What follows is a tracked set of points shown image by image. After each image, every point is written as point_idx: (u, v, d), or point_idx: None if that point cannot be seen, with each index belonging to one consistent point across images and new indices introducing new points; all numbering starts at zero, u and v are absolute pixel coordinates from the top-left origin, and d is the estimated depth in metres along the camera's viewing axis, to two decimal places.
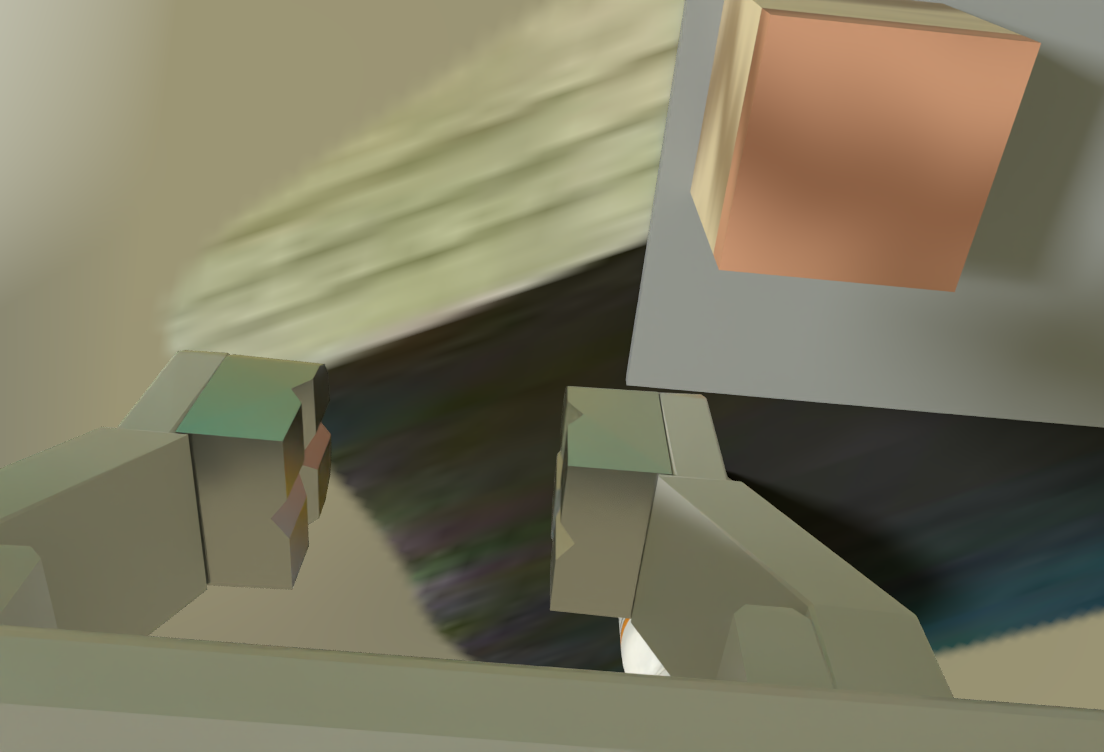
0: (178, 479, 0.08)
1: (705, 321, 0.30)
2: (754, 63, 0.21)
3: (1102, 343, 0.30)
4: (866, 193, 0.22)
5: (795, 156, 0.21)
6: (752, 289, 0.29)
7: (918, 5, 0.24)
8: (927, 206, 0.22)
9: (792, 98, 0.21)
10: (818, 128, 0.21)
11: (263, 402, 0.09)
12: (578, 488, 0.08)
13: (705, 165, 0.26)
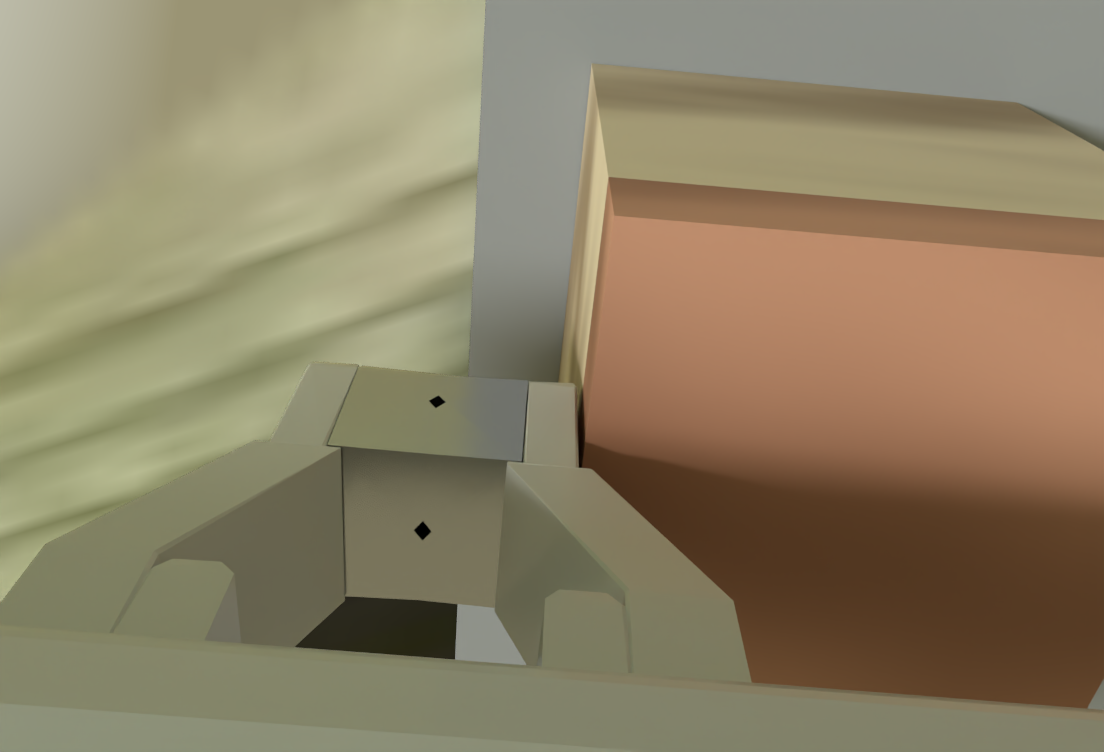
0: (329, 492, 0.08)
1: None
2: (596, 307, 0.08)
3: None
4: (874, 583, 0.09)
5: (705, 517, 0.09)
6: None
7: (974, 115, 0.12)
8: (1013, 606, 0.09)
9: (686, 402, 0.08)
10: (753, 460, 0.09)
11: (405, 414, 0.09)
12: (429, 476, 0.08)
13: None
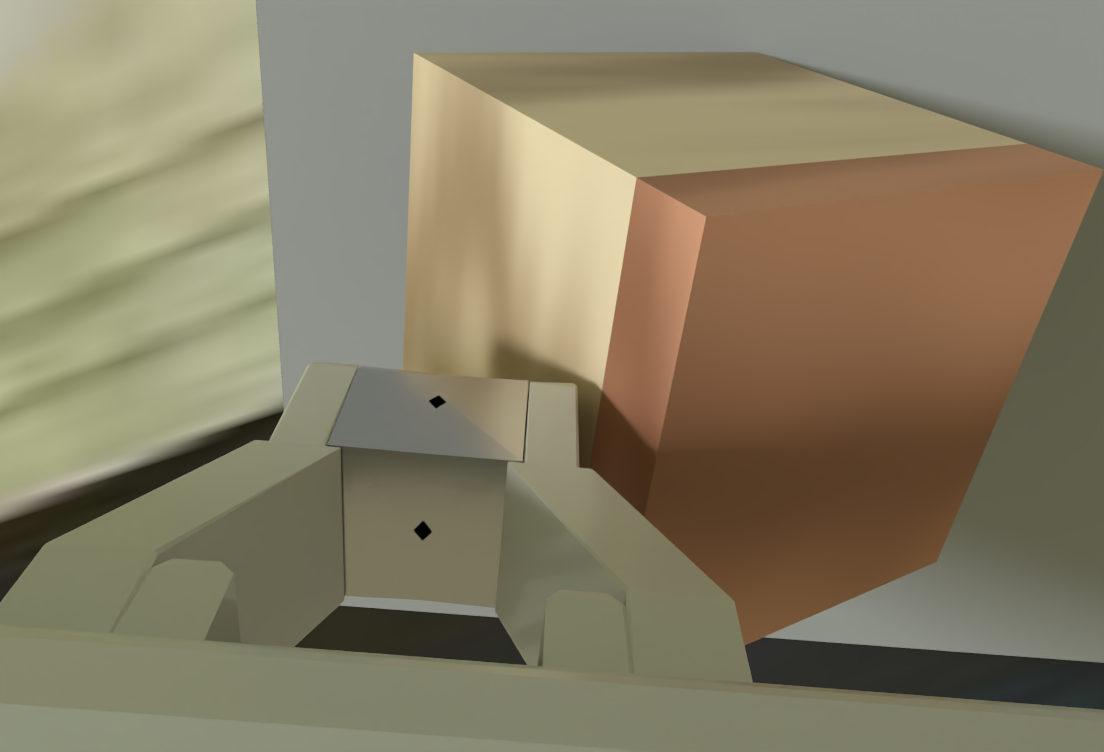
0: (330, 492, 0.08)
1: None
2: (639, 307, 0.09)
3: (1002, 547, 0.20)
4: (844, 483, 0.11)
5: (740, 472, 0.10)
6: None
7: (752, 69, 0.14)
8: (922, 466, 0.12)
9: (740, 374, 0.09)
10: (781, 410, 0.10)
11: (405, 414, 0.09)
12: (430, 476, 0.08)
13: None
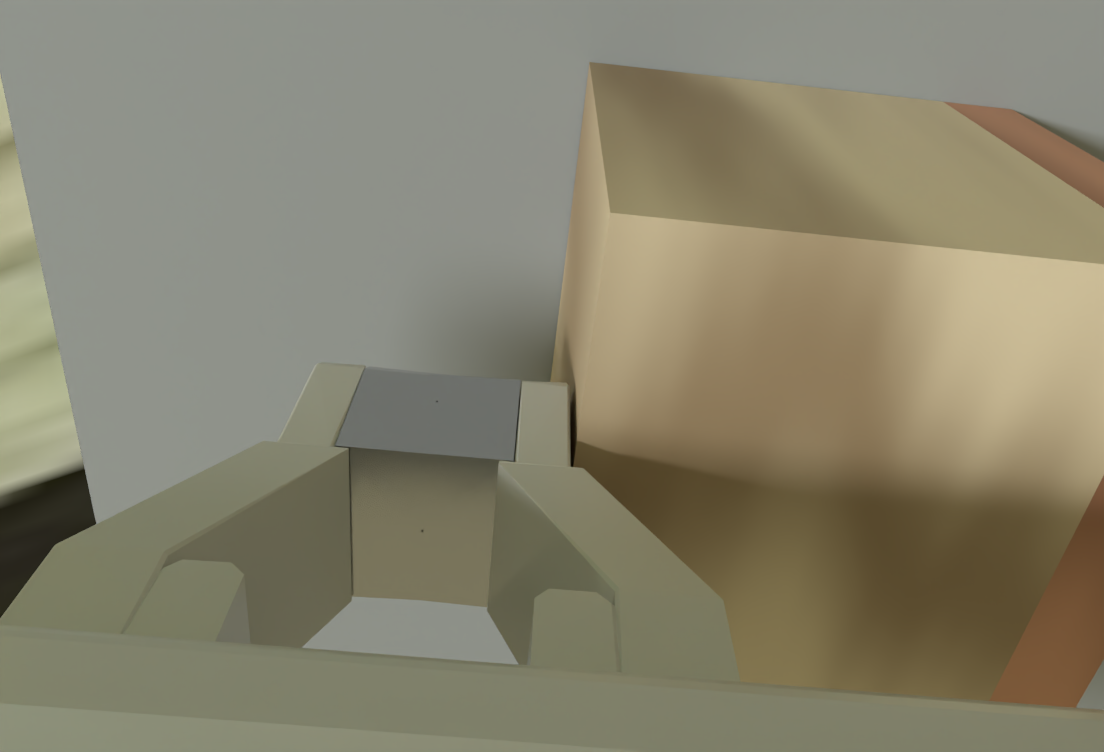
0: (337, 492, 0.08)
1: None
2: None
3: None
4: None
5: None
6: None
7: (676, 88, 0.12)
8: None
9: None
10: None
11: (412, 415, 0.09)
12: (421, 475, 0.08)
13: None
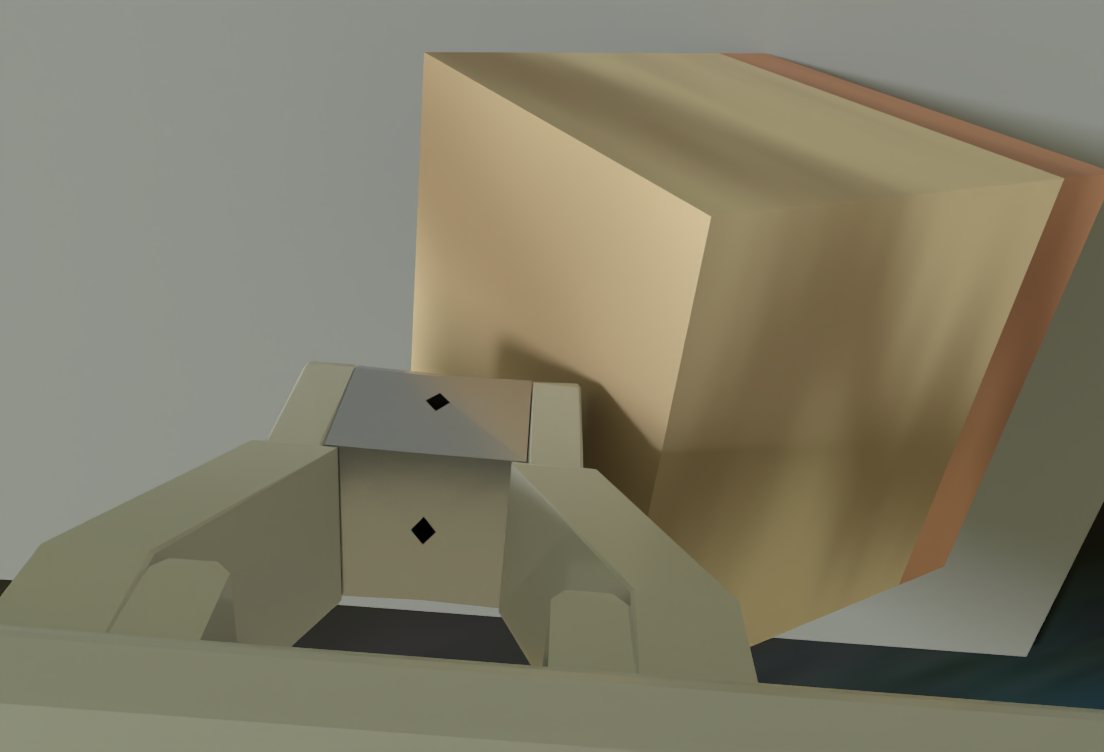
0: (326, 491, 0.08)
1: (76, 492, 0.19)
2: (1043, 270, 0.11)
3: None
4: None
5: None
6: (129, 448, 0.19)
7: (536, 71, 0.12)
8: None
9: None
10: None
11: (402, 414, 0.09)
12: (434, 476, 0.08)
13: (744, 577, 0.11)
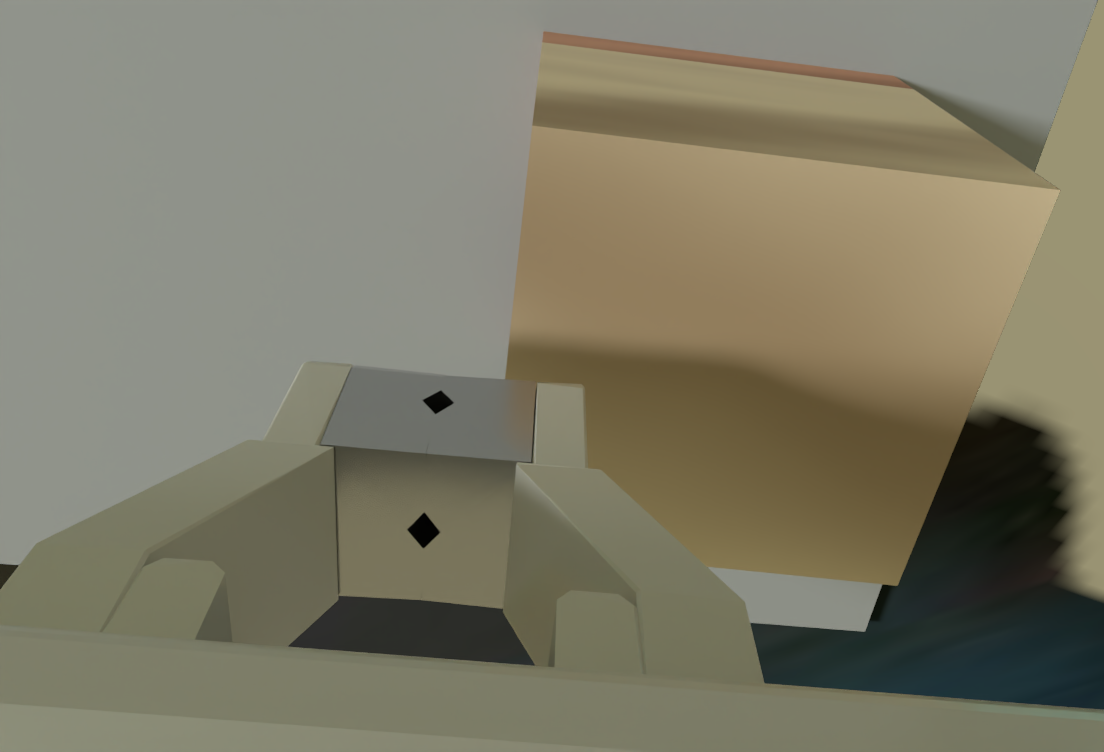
0: (322, 491, 0.08)
1: None
2: None
3: None
4: None
5: None
6: None
7: (621, 112, 0.11)
8: None
9: None
10: None
11: (398, 414, 0.09)
12: (438, 477, 0.08)
13: None
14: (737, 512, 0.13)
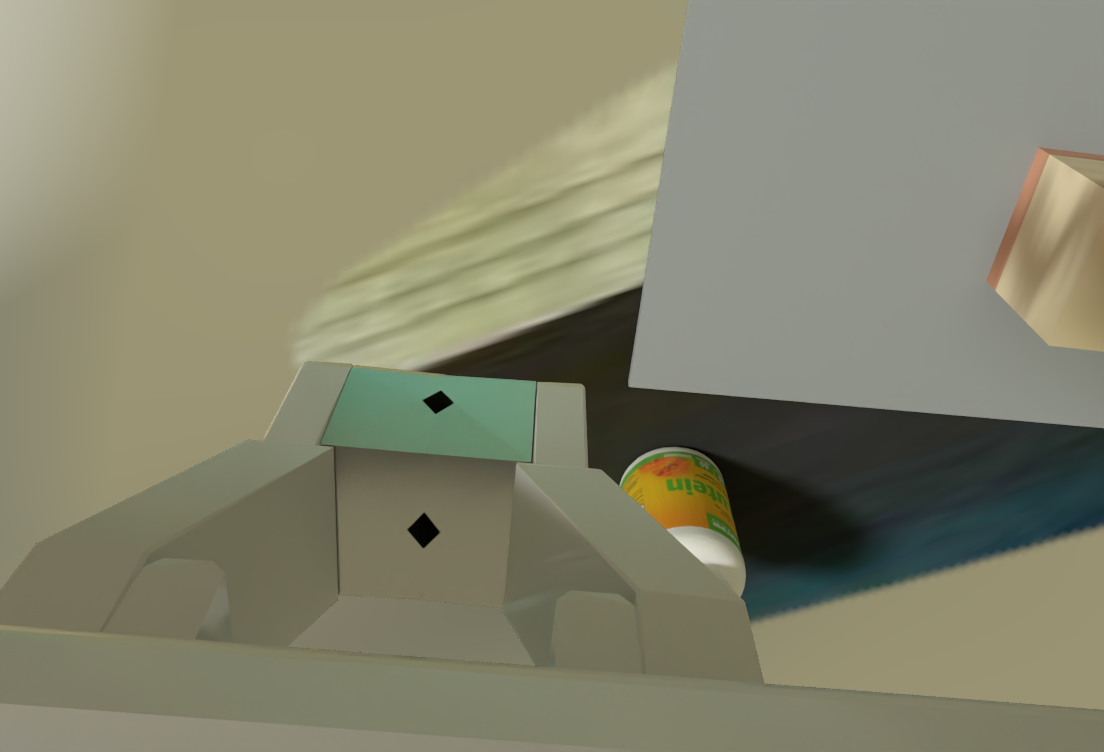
0: (323, 491, 0.08)
1: (685, 341, 0.42)
2: None
3: (972, 356, 0.42)
4: None
5: None
6: (718, 318, 0.41)
7: None
8: None
9: None
10: None
11: (398, 414, 0.09)
12: (439, 476, 0.08)
13: None
14: None
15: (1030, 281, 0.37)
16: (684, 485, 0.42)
